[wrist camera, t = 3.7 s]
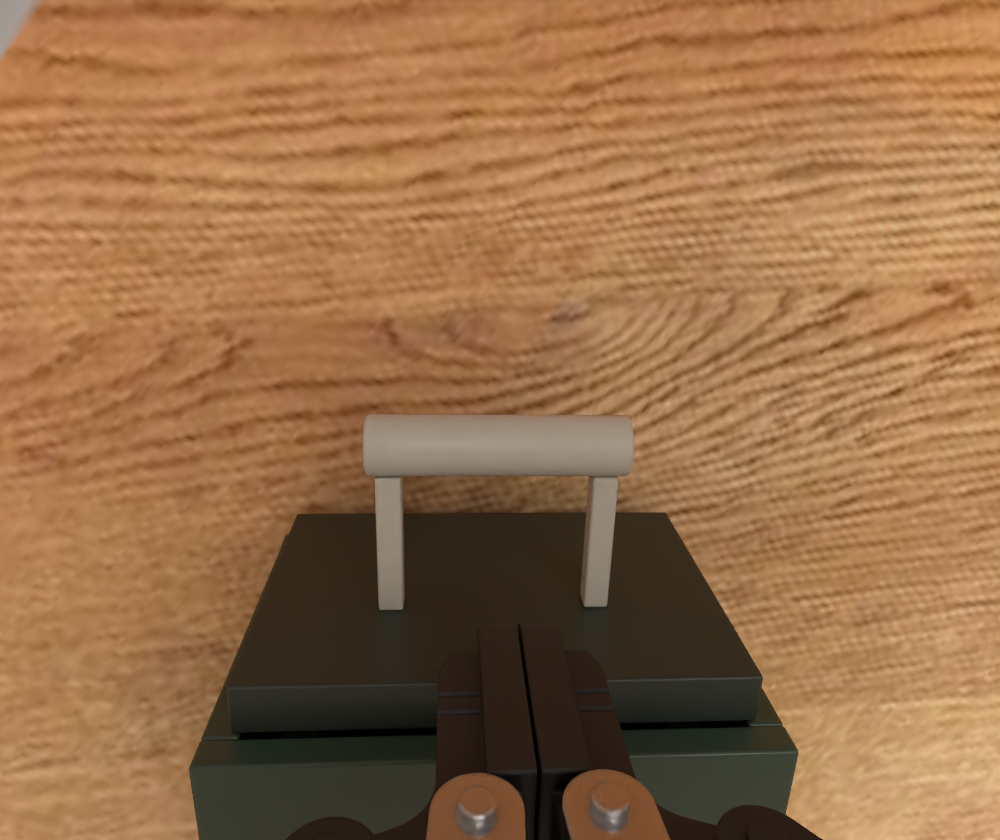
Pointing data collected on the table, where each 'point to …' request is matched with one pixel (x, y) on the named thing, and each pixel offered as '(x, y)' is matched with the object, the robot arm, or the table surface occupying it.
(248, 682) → the drawer
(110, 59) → the table surface
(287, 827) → the cabinet
